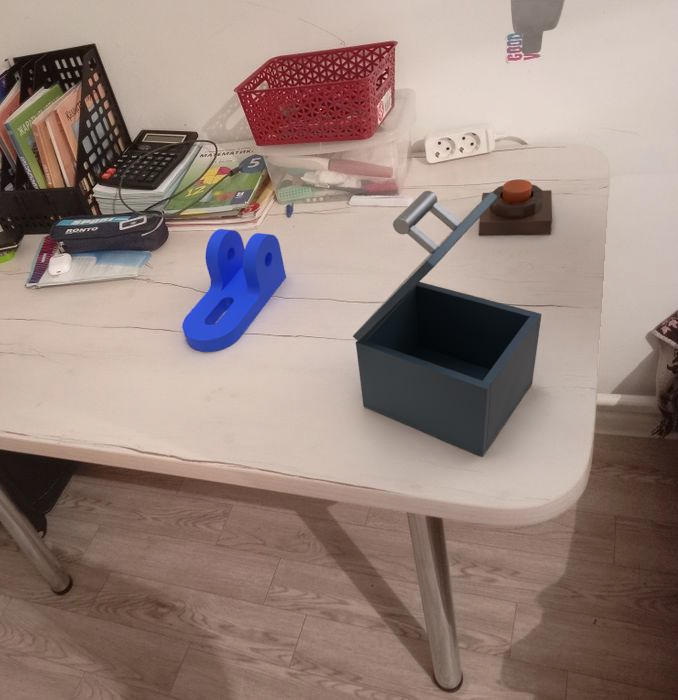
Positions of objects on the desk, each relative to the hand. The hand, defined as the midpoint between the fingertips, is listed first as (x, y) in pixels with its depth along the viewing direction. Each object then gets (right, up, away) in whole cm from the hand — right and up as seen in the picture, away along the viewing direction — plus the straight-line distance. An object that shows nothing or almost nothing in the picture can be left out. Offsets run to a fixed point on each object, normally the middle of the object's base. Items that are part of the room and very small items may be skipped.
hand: (531, 48), depth 64 cm
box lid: (-13, -24, -5) cm, 28 cm away
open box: (-8, -36, +4) cm, 37 cm away
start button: (+9, -10, +22) cm, 26 cm away
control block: (+10, -13, +24) cm, 29 cm away
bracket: (-30, -26, +25) cm, 47 cm away
